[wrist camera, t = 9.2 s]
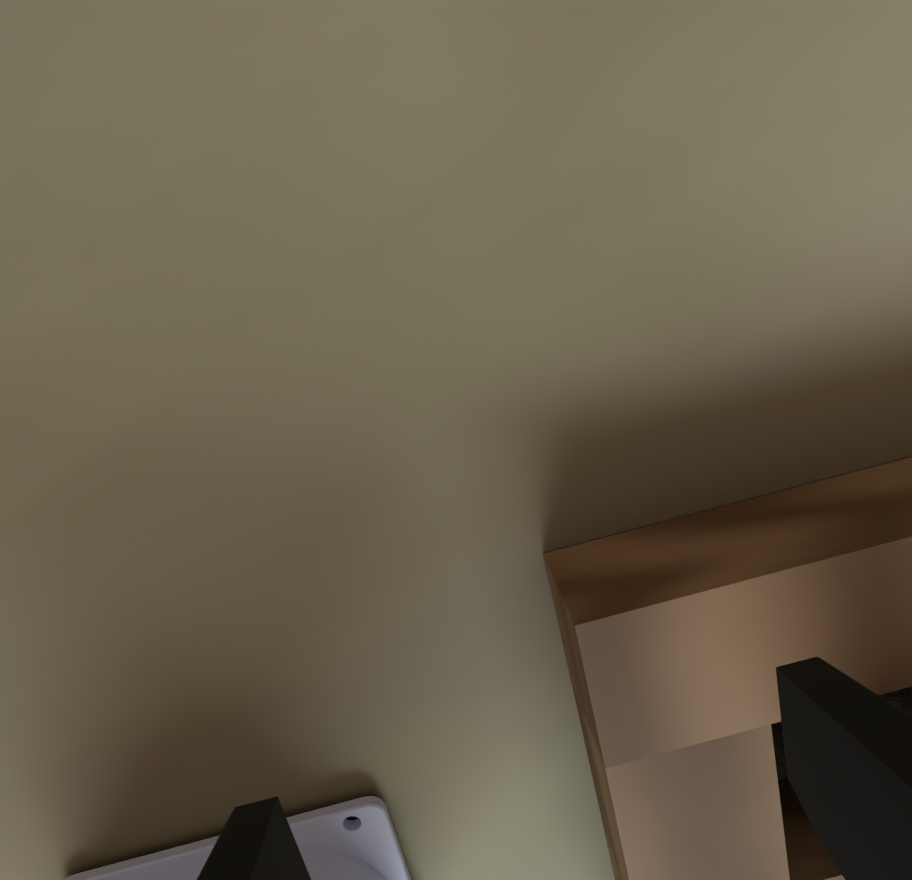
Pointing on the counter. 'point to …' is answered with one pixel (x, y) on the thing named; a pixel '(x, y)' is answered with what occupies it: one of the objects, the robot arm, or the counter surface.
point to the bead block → (728, 664)
